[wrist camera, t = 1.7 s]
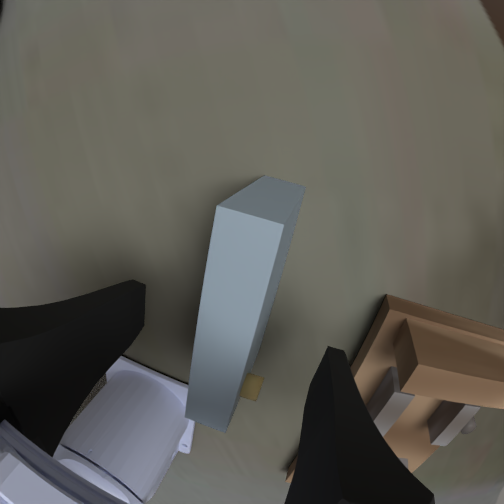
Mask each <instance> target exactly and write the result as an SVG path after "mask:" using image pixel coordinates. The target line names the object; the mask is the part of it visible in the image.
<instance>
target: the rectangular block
mask: <svg viewBox="0 0 504 504" xmlns="http://www.w3.org/2000/svg"><path fill="white" fill-rule="evenodd" d="M305 188H306V187H305V186H302V185H298V184H295V183H291V182H288V181H284V180H280V179H277V178H273V177H269V176H265V175H264V176H263V177H261V178H259V179H258V180H256V181H255V182H253V183H251V184H250V185H248V186H247V187H245V188H244V189H242V190H240V191H239V192H237V193H236V194H234V195H232V196H231V197H229V198H228V199H226V200H225V201H223V202H222V203H220V204H218V205H217V207H216V213H215V218H214V224H213V229H212V235H211V241H210V246H209V252H208V258H207V264H206V270H205V276H204V282H203V288H202V295H201V301H200V308H199V314H198V321H197V327H196V334H195V341H194V348H193V355H192V363H191V370H190V378H189V385H188V393H187V401H186V409H185V418H187V419H190V420H192V421H195V422H198V423H200V424H203V425H205V426H208V427H211V428H213V429H216V430H219V431H222V432H225V433H226V430H227V428H228V426H229V423H230V421H231V418H232V416H233V414H234V411H235V409H236V406H237V404H238V402H239V399H240V397H244V398H247V399H250V400H253V401H256V400H257V397H258V394H259V391H260V389H261V386H262V383H263V380H264V378H263V377H260V376H257V375H254V374H251V373H250V372H251V369H252V367H253V364H254V362H255V359H256V357H257V354H258V352H259V349H260V345H261V342H262V339H263V336H264V332H265V329H266V326H267V322H268V319H269V316H270V312H271V309H272V306H273V302H274V299H275V295H276V292H277V289H278V285H279V282H280V278H281V275H282V271H283V268H284V264H285V261H286V257H287V254H288V250H289V247H290V243H291V240H292V236H293V232H294V229H295V225H296V221H297V218H298V214H299V210H300V207H301V203H302V199H303V195H304V192H305Z"/></svg>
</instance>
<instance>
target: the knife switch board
mask: <svg viewBox="0 0 504 504" xmlns="http://www.w3.org/2000/svg"><path fill="white" fill-rule="evenodd" d="M350 369H351V371H352V374H353V377H354V380H355V382H356V385H357V387H358V390H359V392H360V394H361V397H362V399H363V401H364V403H365V406H366V408H367V410H368V412H369V414H370V416H371V418H372V420H373V421H374V423H375V425H376V426H377V428H378V430H379V431H380V433H381V435H382V436H383V438H384V439H385V441H386V442H387V444H388V445H389V446H390V448H391V449H392V450H393V452H394V453H395V454H396V456H397V457H398V458H399V459H400V461H401V462H402V463H403V464H404V465H405V466H406V468H407V469H408V470H409V471H410V472H411V473H412V472H413V471H414V470H415V469H417V468H418V467H419V466H420V465H421V464H422V463H423V462H424V461H425V460H426V459H427V458H428V457H429V456H430V455H431V454H432V453H433V452H434V451H435V450H436V449H437V448H438V447H439V446H446V445H447V444H448V443H449V442H450V441H451V440H452V439H453V438H454V437H455V436H456V435H457V434H458V433H459V432H460V431H461V433H462V434H468V433H470V432H472V431H473V430H475V428H476V422H475V419H474V415H475V414H476V412H477V411H478V410H479V409H480V408H481V407H480V406H484V407H492V408H500V409H504V330H503V329H499V328H496V327H493V326H489V325H486V324H483V323H480V322H476V321H473V320H470V319H466V318H463V317H460V316H456V315H453V314H450V313H447V312H443V311H440V310H437V309H433V308H430V307H427V306H423V305H420V304H417V303H414V302H410V301H407V300H404V299H400V298H397V297H394V296H391V295H387V294H386V296H385V299H384V301H383V303H382V305H381V307H380V310H379V312H378V314H377V316H376V318H375V320H374V322H373V324H372V327H371V329H370V331H369V333H368V335H367V337H366V339H365V341H364V343H363V345H362V347H361V349H360V351H359V352H358V354H357V356H356V358H355V360H354V362H353V364H352V366H351V368H350ZM297 457H298V455H297ZM297 457H296V458H295V459H294V461H293V462H292V464H291V465H290V467H289V469H288V473H287V477H286V481H285V482H289V483H291V481H292V478H293V474H294V470H295V467H296V462H297Z"/></svg>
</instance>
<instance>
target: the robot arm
mask: <svg viewBox="0 0 504 504" xmlns="http://www.w3.org/2000/svg"><path fill="white" fill-rule="evenodd" d="M145 289H146V285H145V284H143V283H140V282H138V281H135V280H129V281H126V282H122V283H119V284H116V285H113V286H110V287H107V288H104V289H101V290H98V291H95V292H92V293H89V294H86V295H82V296H79V297H75V298H72V299H68V300H64V301H60V302H55V303H50V304H45V305H38V306H29V307H19V308H0V504H145V503H146V502H147V501H148V500H150V499H151V498H152V497H153V495H154V494H155V492H156V490H157V488H158V487H159V485H160V483H161V481H162V479H163V478H164V476H165V474H166V472H167V470H168V468H169V467H170V465H171V463H172V461H173V459H174V457H175V455H176V454H177V452H178V451H181V452H183V453H190V451H191V446H192V440H193V433H194V427H195V421H192V420H190V419H187V418H185V409H186V401H187V393H188V385H186V384H184V383H182V382H179V381H177V380H174V379H172V378H169V377H167V376H165V375H162V374H160V373H158V372H156V371H153V370H151V369H149V368H147V367H144V366H142V365H140V364H138V363H136V362H134V361H131V360H129V359H127V358H125V357H123V356H121V355H122V354H123V353H124V352H125V351H126V350H127V349H128V348H129V346H130V345H131V344H132V343H133V341H134V340H135V339H136V337H137V336H138V334H139V333H140V331H141V330H142V328H143V327H144V314H145ZM105 373H106V378H107V383H106V384H105V385H104V387H103V388H102V389H101V390H100V391H99V392H98V394H97V395H96V396H95V397H94V398H93V399H92V400H91V402H90V403H89V404H88V405H87V406H86V407H85V409H84V410H83V411H82V412H81V413H80V414H79V416H78V417H77V418H76V419H75V420H74V422H73V423H72V424H71V425H70V426H69V424H70V422H71V421H72V419H73V417H74V416H75V414H76V412H77V411H78V409H79V408H80V406H81V404H82V403H83V401H84V400H85V398H86V397H87V396H88V394H89V393H90V391H91V390H92V388H93V387H94V386H95V384H96V383H97V382H98V381H99V379H100V378H101V377H102V376H103V375H104V374H105ZM68 426H69V427H68ZM67 428H68V429H67ZM66 429H67V430H66ZM285 504H435V500H434V494H433V493H432V492H431V491H430V490H429V489H428V488H427V487H425V486H424V485H423V484H422V483H421V482H420V481H419V480H418V479H417V478H416V477H415V476H414V475H413V474H412V473H411V472H410V471H409V470H408V469H407V468H406V466H405V465H404V464H403V463H402V462H401V461H400V459H399V458H398V457H397V456H396V454H395V453H394V452H393V450H392V449H391V448H390V446H389V445H388V444H387V442H386V441H385V439H384V438H383V436H382V435H381V433H380V431H379V430H378V428H377V426H376V425H375V423H374V421H373V420H372V418H371V416H370V414H369V412H368V410H367V408H366V406H365V403H364V401H363V399H362V397H361V394H360V392H359V390H358V387H357V385H356V382H355V380H354V377H353V374H352V371H351V369H350V366H349V363H348V360H347V357H346V354H345V352H344V351H343V350H340V349H336V348H333V347H329V346H328V347H327V350H326V352H325V354H324V356H323V358H322V360H321V363H320V365H319V367H318V369H317V371H316V373H315V375H314V377H313V379H312V381H311V383H310V387H309V391H308V395H307V399H306V403H305V407H304V414H303V422H302V429H301V437H300V444H299V451H298V457H297V462H296V467H295V470H294V474H293V478H292V481H291V485H290V488H289V491H288V494H287V497H286V501H285Z"/></svg>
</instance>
